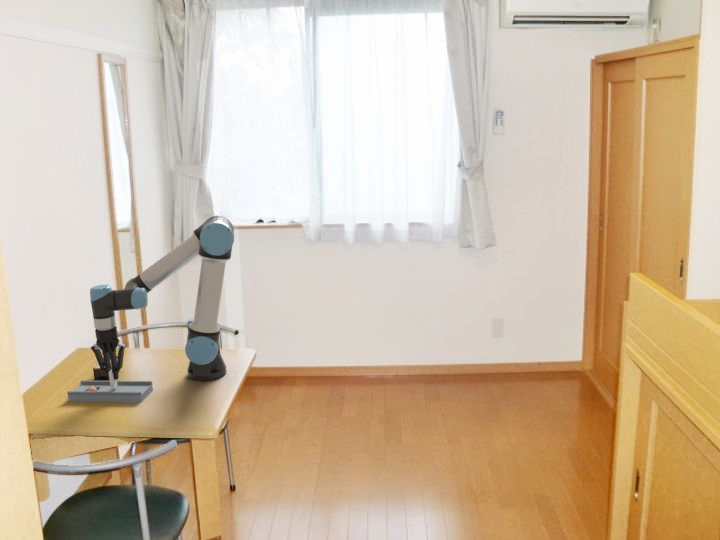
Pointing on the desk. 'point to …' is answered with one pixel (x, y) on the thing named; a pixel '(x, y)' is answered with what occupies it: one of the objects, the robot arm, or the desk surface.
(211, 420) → the desk surface
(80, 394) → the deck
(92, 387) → the ball
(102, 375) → the camera
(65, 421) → the desk surface
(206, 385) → the desk surface
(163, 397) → the desk surface
